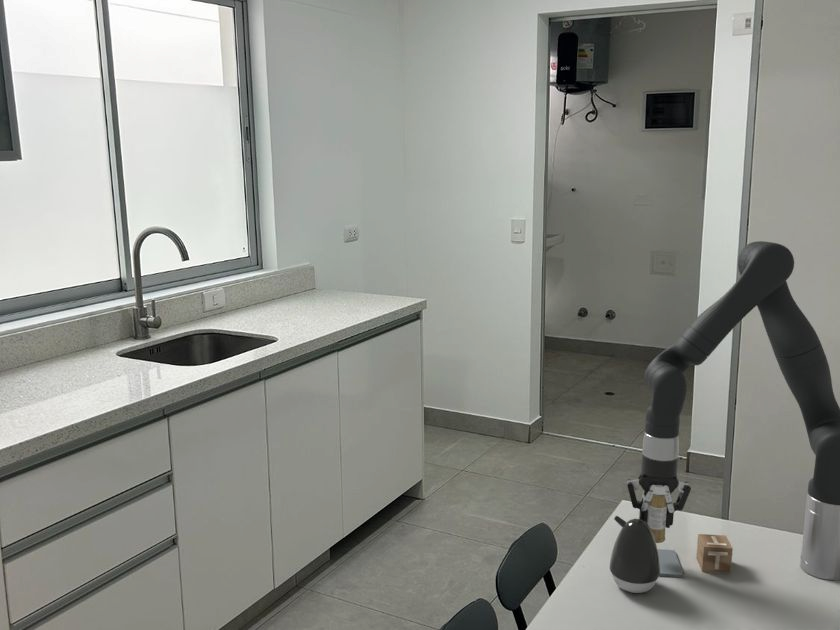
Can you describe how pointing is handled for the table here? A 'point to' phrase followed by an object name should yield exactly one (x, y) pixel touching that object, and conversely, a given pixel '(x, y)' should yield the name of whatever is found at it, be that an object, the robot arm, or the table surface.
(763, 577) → the table surface
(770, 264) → the robot arm
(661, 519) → the sprinkles bottle
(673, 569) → the blue-grey square plate
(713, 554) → the walnut letter cube
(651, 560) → the pump dispenser
